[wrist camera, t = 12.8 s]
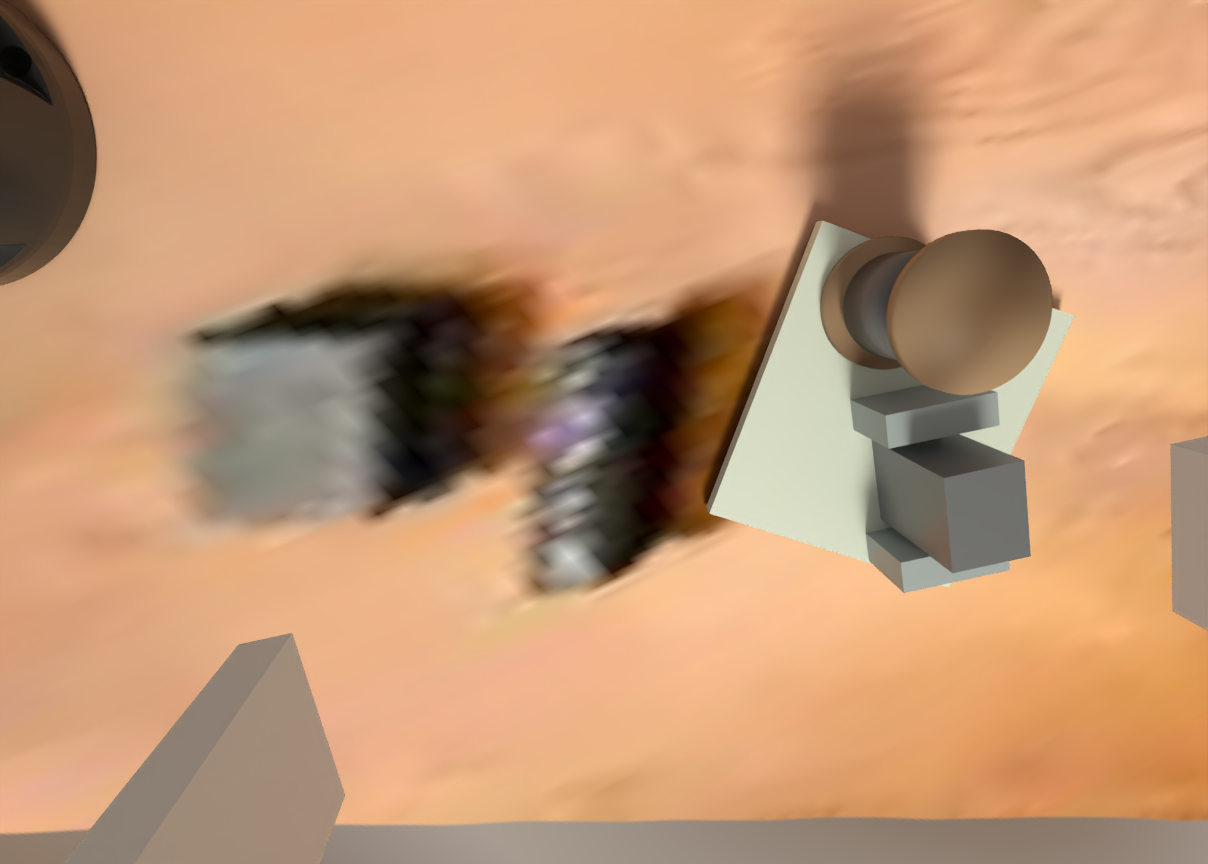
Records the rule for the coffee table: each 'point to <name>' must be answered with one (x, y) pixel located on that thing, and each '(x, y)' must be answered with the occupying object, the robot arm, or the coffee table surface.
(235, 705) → the robot arm
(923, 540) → the gray rectangular block
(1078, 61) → the coffee table surface
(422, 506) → the coffee table surface
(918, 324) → the bobbin
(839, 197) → the coffee table surface
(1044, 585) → the coffee table surface
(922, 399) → the notch
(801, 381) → the board
